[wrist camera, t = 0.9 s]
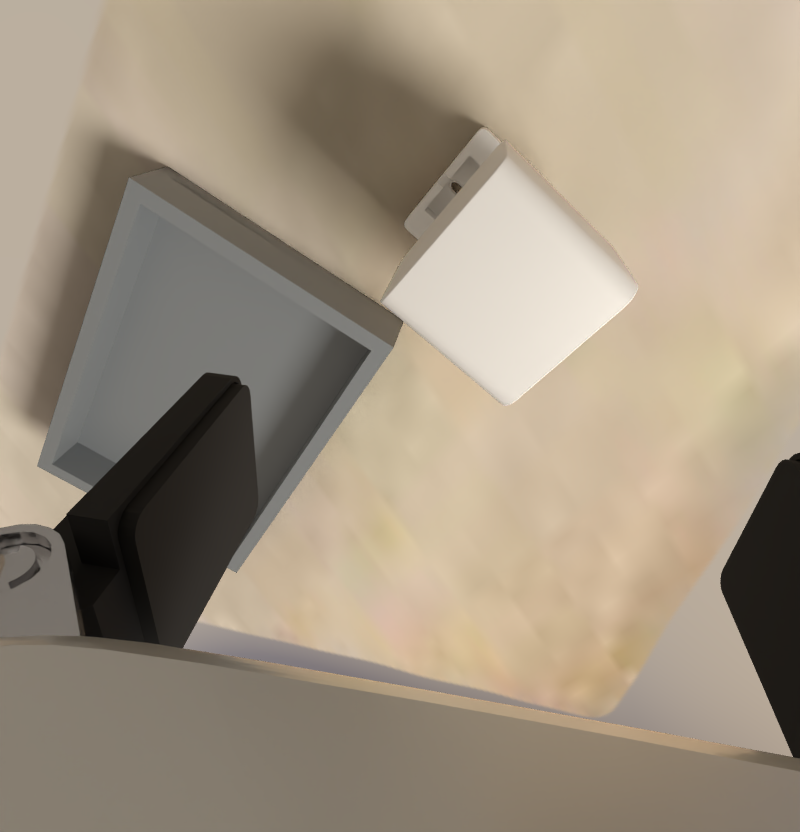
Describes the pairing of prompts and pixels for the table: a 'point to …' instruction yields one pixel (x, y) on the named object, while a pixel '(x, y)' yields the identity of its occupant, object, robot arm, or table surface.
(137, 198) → the parts tray
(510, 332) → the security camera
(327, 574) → the table surface
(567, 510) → the table surface
